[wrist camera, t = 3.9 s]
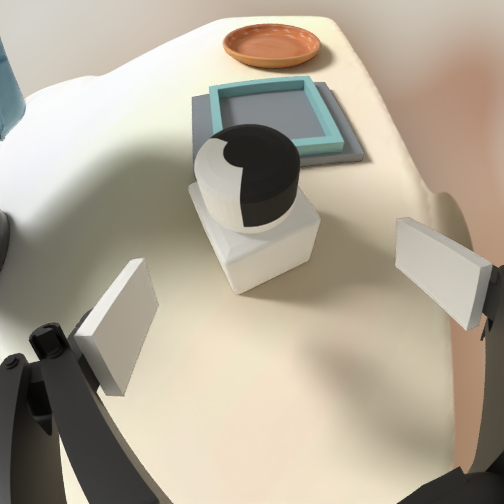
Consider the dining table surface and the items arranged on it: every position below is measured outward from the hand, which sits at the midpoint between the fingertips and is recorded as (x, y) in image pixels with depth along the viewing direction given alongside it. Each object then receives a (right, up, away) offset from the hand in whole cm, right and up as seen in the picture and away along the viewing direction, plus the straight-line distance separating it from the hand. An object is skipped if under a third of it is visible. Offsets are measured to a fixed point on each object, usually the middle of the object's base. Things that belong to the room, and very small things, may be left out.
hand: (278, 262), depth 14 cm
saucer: (+2, +34, +27) cm, 43 cm away
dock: (+1, +15, +18) cm, 24 cm away
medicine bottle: (-1, +1, +12) cm, 12 cm away
